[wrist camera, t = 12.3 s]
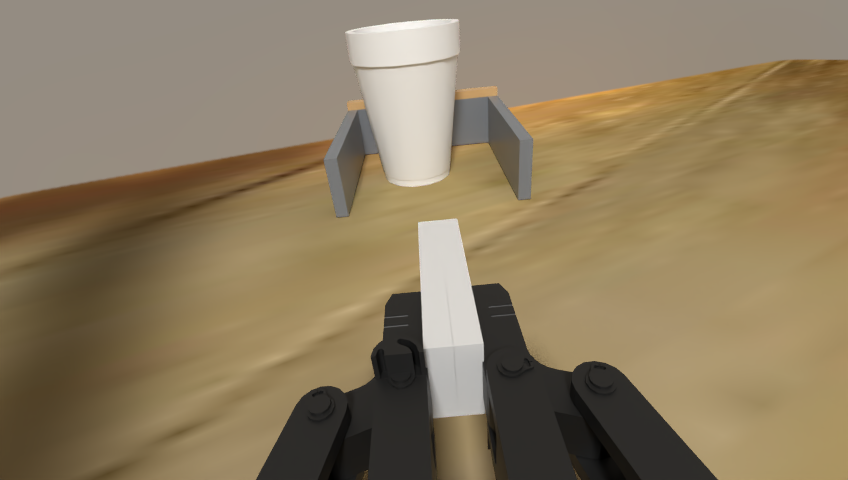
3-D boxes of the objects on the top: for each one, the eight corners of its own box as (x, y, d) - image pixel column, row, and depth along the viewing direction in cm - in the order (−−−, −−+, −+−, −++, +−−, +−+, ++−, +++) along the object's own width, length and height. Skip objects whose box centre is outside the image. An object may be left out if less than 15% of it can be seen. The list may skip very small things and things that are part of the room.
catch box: (336, 217, 34) (321, 149, 31) (357, 152, 48) (348, 101, 45) (530, 198, 34) (533, 128, 31) (495, 138, 48) (495, 85, 45)
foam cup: (476, 158, 43) (472, 16, 36) (450, 196, 36) (440, 28, 29) (392, 155, 46) (374, 24, 40) (353, 190, 39) (323, 36, 32)
